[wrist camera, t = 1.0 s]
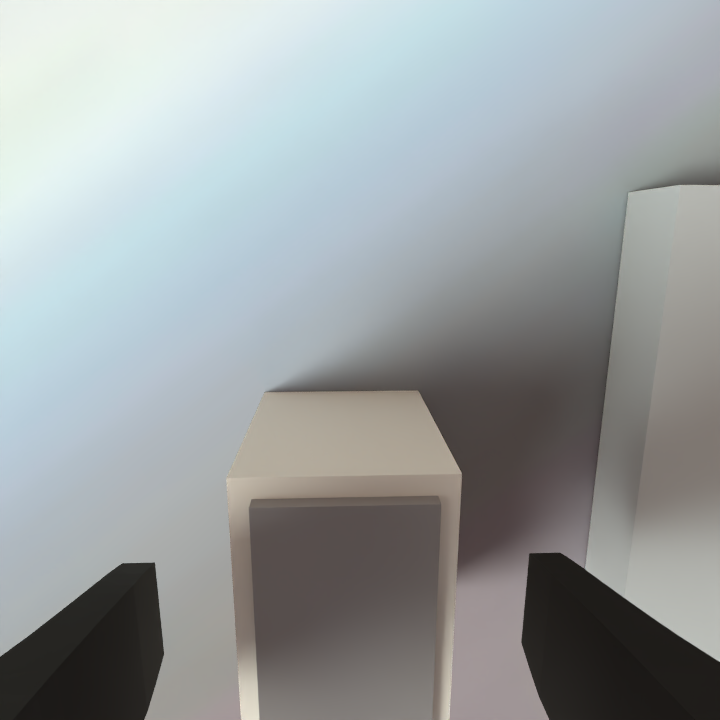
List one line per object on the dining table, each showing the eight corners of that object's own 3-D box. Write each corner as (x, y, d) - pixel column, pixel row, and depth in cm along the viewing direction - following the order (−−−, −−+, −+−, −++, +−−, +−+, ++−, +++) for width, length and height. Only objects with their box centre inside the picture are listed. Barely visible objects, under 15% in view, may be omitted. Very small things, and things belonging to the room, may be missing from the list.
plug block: (412, 588, 15) (450, 768, 10) (273, 592, 15) (241, 776, 10) (418, 389, 14) (465, 481, 9) (264, 391, 14) (222, 486, 9)
